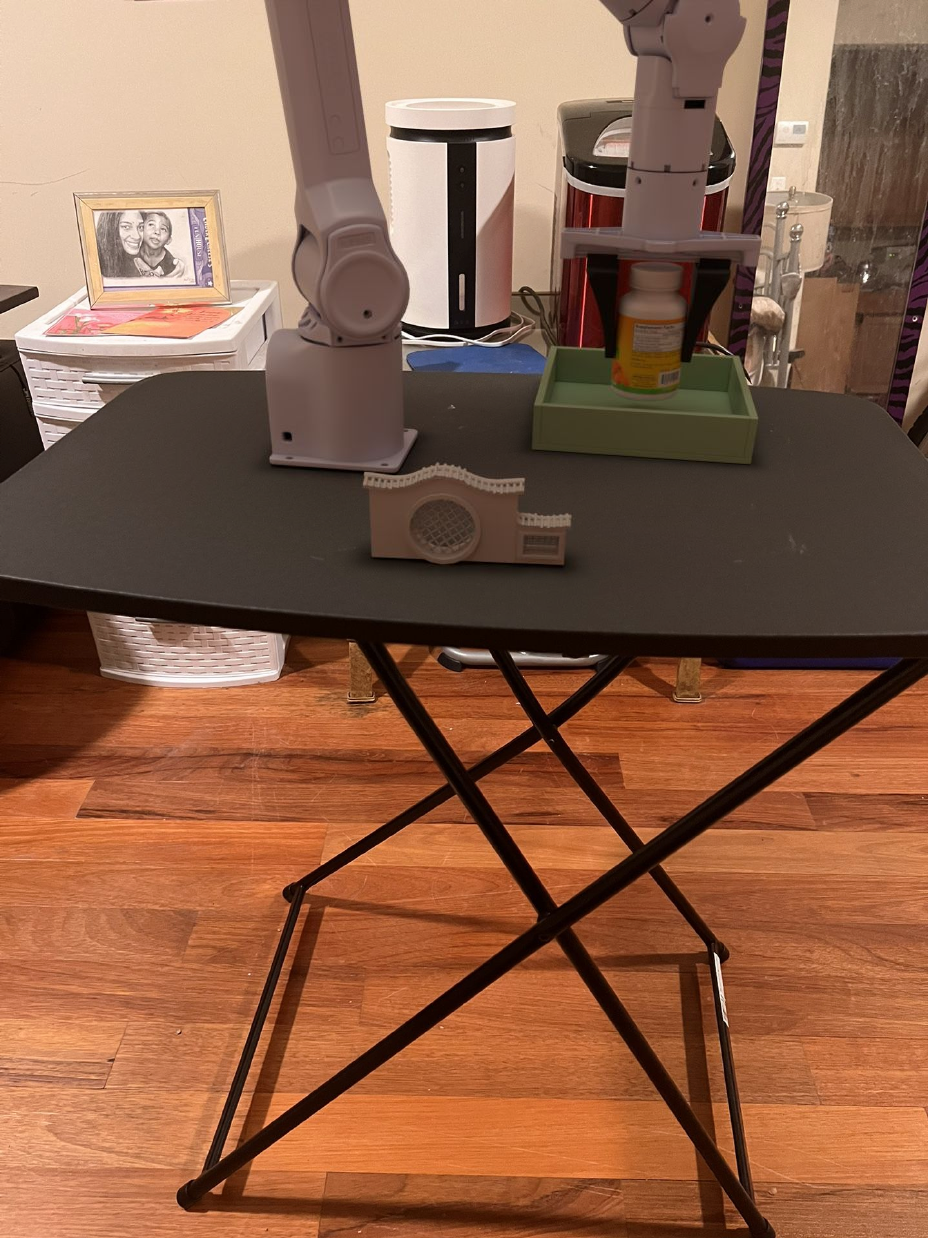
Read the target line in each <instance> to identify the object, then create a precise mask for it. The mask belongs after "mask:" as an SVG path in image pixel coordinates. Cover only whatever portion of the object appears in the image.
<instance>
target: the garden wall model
mask: <svg viewBox="0 0 928 1238" xmlns="http://www.w3.org/2000/svg"><path fill="white" fill-rule="evenodd" d="M363 472H364V473H363V482H362V489H368V498H369V501H368V502H369V522H370V524H369V525H370V546H371V547H370V548H371V549H370V550H371V557H372V558H389V559H392V558H393V559H414V560H415V559H416V560H425V561H428V562H430V563H434V564H440V565H451V564H455V563H459V562H460V561H461V562H483V563H484V562H486V563H508V564H510V563H511V564H533V565H534V564H535V565H558V566H559V565H560V566H564V565H565V554H566V552H565V551H566V539H567V538H566V537H567V530H571V528H572V527H571V525H572V524H571V523H572V514H569V513H568V512H567V513H566V512H565V514H561V513H559V515H556V514H552V516H551V515H549V514H548V515H546V516H545V515H543V514H541V515H538V514H537V512H535V513H530V512H528V513H526V512H519V510H518V509H519V495H525V480H526V478H525V477H516V478H515V477H514V478H503V479H502V478H499V479H496V478H486V477H482V476H479V475H478V474H477V475H476V474H474V473H472V472H469V471H467V468H463V469H462V467H461V466H460V465H459V466H455V464H451V465H448V464H447V463H444V464H441V465H440V462H436V463H435V465H430V466H428V467H425V466H423V467H422V469H420V470H419V469H418V470H417V471H415V472H411V473H407V474H401V475H392V474H385V473H379V472H372V471H363ZM440 500H441V501H440ZM449 501H450V502H451V503H450V502H449ZM433 502H435V503H436V504H435V505H433V504H432V503H433ZM444 502H445V504H446V506H445V507H443V506H442V505H441V504H443V503H444ZM454 505H456V507H454V508H453V506H454ZM426 506H429V507H430V508H429V509H425V507H426ZM437 507H439V508H440V510H439V511H437V510H436V509H435V508H437ZM463 508H464V509H463ZM421 509H422V511H423V512H422V513H420V514H419V513H418V512H419V511H420V510H421ZM447 509H449V511H448V512H446V510H447ZM458 509H459V510H460V512H459V513H458V514H457V513H456V512H455V511H457V510H458ZM431 511H432V512H433V513H434V514H431V516H430V514H429V512H431ZM467 512H468V514H469V515H467V514H466V513H467ZM441 513H443V515H442V516H440V514H441ZM451 514H453V515H454V516H453V517H450V516H449V515H451ZM414 515H416V517H413V516H414ZM425 515H426V516H427V518H426V519H424V520H423V518H422V517H423V516H425ZM462 515H463V516H464V518H463V519H460V516H462ZM435 517H437V519H436V520H434V519H433V518H435ZM445 518H446V519H447V520H446V521H444V520H443V519H445ZM470 519H472V520H473V522H472V521H471V520H470ZM417 520H419V521H420V523H418V524H417V525H416V523H415V521H417ZM454 520H457V523H454V522H453V521H454ZM428 521H430V522H431V523H429V524H428V525H427V524H426V523H427V522H428ZM465 521H467V522H468V523H469V524H467V526H465V524H464V522H465ZM438 522H440V523H441V524H440V525H439V526H438V525H437V524H436V523H438ZM449 523H450V524H451V527H449V528H448V526H447V525H448V524H449ZM422 525H423V526H424V527H422V528H421V529H419V527H420V526H422ZM460 525H461V527H462V528H461V529H460V530H459V529H458V528H457V527H458V526H460ZM431 526H433V527H434V529H432V530H430V528H431ZM443 527H444V528H445V530H444V531H443V532H442V531H441V530H440V529H441V528H443ZM469 528H472V529H473V531H471V532H469V531H468V529H469ZM453 529H454V530H455V531H456V532H455V533H452V532H451V531H452V530H453ZM425 530H426V531H427V533H426V534H425V535H423V533H422V532H424V531H425ZM464 531H465V533H466V535H465V536H463V535H462V533H463V532H464ZM435 532H438V535H436V536H435V535H434V533H435ZM446 533H448V534H449V537H446V536H445V534H446ZM428 536H430V537H431V539H429V540H427V539H426V538H427V537H428ZM457 536H459V537H460V539H458V540H457V539H456V537H457ZM440 537H441V538H442V539H443V540H442V541H440V542H439V541H438V540H437V539H438V538H440ZM451 539H452V540H453V541H454V543H452V544H450V542H449V541H450V540H451ZM462 541H463V542H462ZM433 542H435V544H436V545H435V544H433ZM461 542H462V543H461ZM445 543H446V545H447V546H442V545H444V544H445Z"/></svg>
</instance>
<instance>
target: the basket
mask: <svg viewBox="0 0 928 1238" xmlns="http://www.w3.org/2000/svg"><path fill="white" fill-rule="evenodd" d="M612 365H613V359H612V358H605V348H597V347H579V346H562V345H561V346H560V345H559V346H557V345H551V346H550V348H549V352H548V355H547V359H546V362H545V366H544V369H543V373H542V376H541V378H540V383H539V386H538V390H537V393H536V397H535V401H534V404H533V413H532V415H533V416H532V436H531V437H532V438H531V450H533V451H534V450H536V451H550V452H563V453H564V452H565V453H578V454H593V455H607V456H608V455H609V456H610V455H611V456H623V457H637V458H650V459H652V458H653V459H664V460H665V459H666V460H668V459H669V460H682V461H696V462H710V463H723V464H725V463H726V464H740V465H751V464H752V460H753V459H752V458H753V454H754V449H755V448H754V447H755V442H756V436H757V432H758V425H759V421H760V420H759V417H758V413H757V410H756V407H755V403H754V399H753V397H752V394H751V389H750V387H749V384H748V381H747V378H746V374H745V371H744V368H743V365H742V360H741V358H740V356H739V355H728V354H727V355H725V354H710V353H709V354H707V353H706V354H705V353H693V354H692V358H691V362H690V363H684V362H682V364H681V373H680V381H679V388H678V392H677V394H676V395H675V396H674V397H673V398H670V399H667V400H663V401H652V402H645V401H633V400H628V399H625V398H622V397H620V396H618V395H616V394H615V393H614V392H613V391H612V389H611V377H612Z"/></svg>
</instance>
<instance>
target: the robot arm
mask: <svg viewBox="0 0 928 1238" xmlns="http://www.w3.org/2000/svg"><path fill="white" fill-rule="evenodd" d="M598 1H599V2H600V3H601V5H603V6H604V7H605V9H607V11H608V12H609V13H610V14H611V15H612V16H613V17H614V18H615V19H616V20H617V21H618V22H619V23H620V24H621V25H622V34H623V38H624V42H625V45H626V48H627V50H628V52H629V54H630V55H632V56H633V57H636V58H637V60H636V68H635V69H636V70H635V80H634V83H635V84H634V90H633V91H634V92H633V100H632V101H633V103H632V111H631V112H632V113H631V124H630V135H629V145H628V157H627V167H626V176H625V177H626V178H625V190H624V200H623V211H622V222H621V226H614V227H613V226H611V227H609V226H607V227H606V226H605V227H563V228H562V230H561V235H560V251H559V259H561V260H562V259H563V260H574V259H577V258H580V259H581V258H582V259H586V263H585V264H586V265H585V274H586V277H587V279H588V282H589V285H590V289H591V290H592V293H593V296H594V300H595V302H596V303H595V304H596V306H597V310H598V314H599V317H600V321H601V328H602V334H603V344H604V349H605V358H612V359H614V349H615V330H616V319H617V310H616V309H617V297H618V286H619V276H620V275H619V274H620V265H621V260H624V261H625V260H627V261H646V262H670V263H672V262H674V263H693V264H692V273H691V283H690V292H689V300H688V315H687V323H686V331H685V339H684V345H683V351H682V359H681V362H684V363H690V362H691V358H692V354H694V350H695V347H696V345H697V341H698V339H699V336H700V334H701V332H702V329H703V327H704V325H705V322H706V320H707V319H708V317H709V314H710V313H711V311H712V309H713V308H714V306H715V304H716V303H717V301H718V300H719V297H720V296H721V294H722V293H723V292H724V290H725V289H726V287H727V285H728V283H729V281H730V280H731V275H732V269H731V265H741V266H742V267H744V268H758V266H759V259H760V254H761V249H762V242H763V240H762V238H761V236H760V235H759V234H744V233H733V232H723V231H722V232H721V231H712V230H701V228H702V227H701V226H702V218H703V212H704V205H705V197H706V188H707V179H708V172H709V165H710V159H711V158H710V157H711V152H712V151H711V149H712V144H713V143H712V142H713V136H714V135H713V134H714V128H715V119H716V112H717V105H718V96H719V90H720V89H722V86H723V85H722V84H723V77H724V73H725V68H726V66H727V63H728V62H729V60H730V58H731V57H732V56H733V55H734V53H735V52H736V50H737V49H738V47H739V45H740V43H741V41H742V39H743V36H744V33H745V30H746V25H747V17H746V16H745V17H743V15H741V2H740V0H598ZM263 2H264V6H265V11H266V12H265V13H266V18H267V24H268V29H269V34H270V41H271V46H272V52H273V57H274V63H275V70H276V75H277V81H278V86H279V93H280V99H281V104H282V109H283V115H284V116H283V117H284V121H285V127H286V132H287V138H288V144H289V149H290V155H291V161H292V167H293V173H294V178H295V185H296V187H295V196H294V197H295V198H294V205H293V206H294V207H293V210H294V211H293V212H294V217H295V222H296V223H295V224H296V240H295V243H294V247H293V250H292V254H291V258H290V259H291V260H290V272H291V277H292V279H293V282H294V285H295V287H296V289H297V291H298V292H299V294H300V295H301V296H302V298H304V300H305V301H307V302H308V303H307V306H306V307H305V308H304V311H303V313H302V315H301V317H300V320H298V322H297V327H298V328H296V327H295V328H279V329H276V330H275V331H274V332H273V333H272V335H271V337H270V339H269V341H268V344H267V349H266V353H265V354H266V355H265V367H264V370H265V371H264V372H265V373H264V374H265V375H264V377H265V378H264V379H265V390H266V399H267V409H268V411H267V412H268V419H269V420H268V421H269V430H270V431H269V432H270V442H271V451H272V452H271V455H270V456H269V463H270V464H271V465H276V466H277V465H278V466H291V467H302V468H303V467H305V468H317V469H319V468H320V469H321V468H322V469H333V470H347V471H361V472H371V473H386V474H387V473H388V474H394V473H398V472H399V470H400V469H401V467H402V465H403V463H405V462H404V461H405V460H406V459H407V456H408V455H409V452H410V451H411V449H412V447H413V446H414V443H415V442H416V440H417V438H418V437H419V432H418V430H417V429H414V428H405V413H404V411H405V410H404V407H405V406H404V363H403V358H404V357H403V333H402V331H403V323H402V322H401V321H402V319H403V318H404V316H405V314H406V313H407V309H408V306H409V302H410V298H411V285H410V279H409V275H408V272H407V269H406V268H405V265H404V264H403V262H402V261H401V259H400V258H399V256H398V255H397V253H396V252H395V250H394V248H393V245H392V242H391V239H390V234H389V228H388V227H389V226H388V220H387V217H386V214H385V212H384V208H383V205H382V202H381V199H380V197H379V194H378V192H377V189H376V186H375V184H374V180H373V173H372V165H371V159H370V151H369V143H368V135H367V129H366V122H365V113H364V106H363V99H362V98H363V97H362V91H361V84H360V83H361V82H360V75H359V70H358V60H357V54H356V47H355V40H354V33H353V32H354V31H353V25H352V17H351V16H352V15H351V9H350V3H349V0H263Z"/></svg>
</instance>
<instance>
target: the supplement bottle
mask: <svg viewBox="0 0 928 1238" xmlns="http://www.w3.org/2000/svg"><path fill="white" fill-rule="evenodd" d="M684 269H685V268H684V267H683V266H682V265H680V264H676V263H672V262H666V261H642V262H636V263H632V264H631V266H630V270H629V280H628V281H629V282H628V285H629V287H630V291H629V292H627V293H624V295H622V296H621V297H620V299H619V300H618V303H617V308H616V309H617V310H616V319H615V349H614V359H613V365H612V377H611V389H612V391H613V392H614V393H615V394H616V395H618V396H620V397H622V398H625V399H628V400H633V401H645V402H652V401H663V400H667V399H670V398H673V397H674V396H675V395H676V394H677V392H678V388H679V381H680V373H681V364H682V362H681V359H682V351H683V345H684V339H685V331H686V323H687V315H688V309H689V302H688V301H687V300H686V298H685V297H684V296H683V295H681V294H679V289H681V288H682V285H683V283H684V272H685V271H684Z"/></svg>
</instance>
